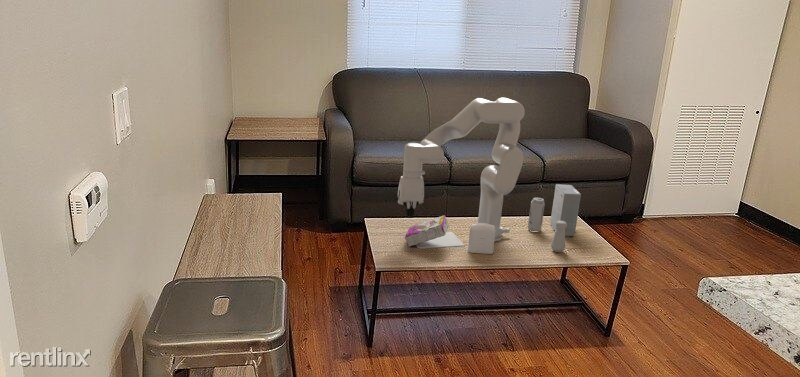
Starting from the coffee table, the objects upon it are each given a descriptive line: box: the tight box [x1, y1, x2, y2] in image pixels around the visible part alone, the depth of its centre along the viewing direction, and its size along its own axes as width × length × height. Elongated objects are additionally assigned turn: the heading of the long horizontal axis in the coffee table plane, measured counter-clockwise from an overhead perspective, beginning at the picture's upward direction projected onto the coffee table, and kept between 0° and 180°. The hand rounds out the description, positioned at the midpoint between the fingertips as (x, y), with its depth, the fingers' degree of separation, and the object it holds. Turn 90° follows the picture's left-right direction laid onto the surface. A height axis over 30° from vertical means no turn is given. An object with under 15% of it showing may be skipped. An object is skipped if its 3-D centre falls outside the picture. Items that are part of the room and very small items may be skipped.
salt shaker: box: [550, 221, 567, 253], centre depth 234 cm, size 6×6×13 cm
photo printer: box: [467, 222, 495, 255], centre depth 228 cm, size 10×4×12 cm, turn 87°
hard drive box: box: [549, 183, 582, 237], centre depth 256 cm, size 16×8×20 cm, turn 179°
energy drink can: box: [527, 196, 546, 232], centre depth 255 cm, size 6×6×15 cm
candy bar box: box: [404, 214, 450, 248], centre depth 232 cm, size 11×5×16 cm
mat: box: [415, 231, 466, 250], centre depth 239 cm, size 20×15×1 cm
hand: (409, 216), depth 233 cm, fingers closed
